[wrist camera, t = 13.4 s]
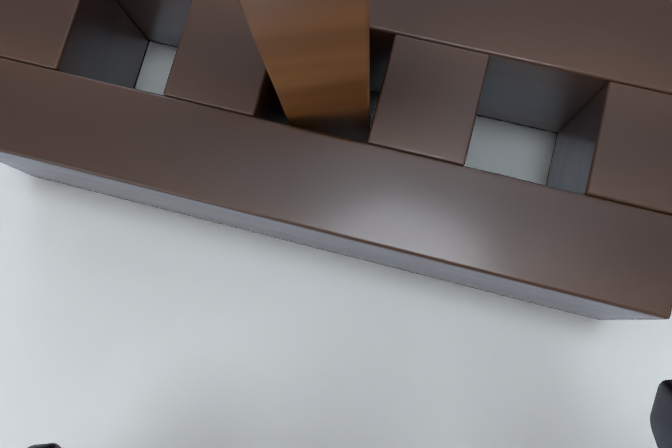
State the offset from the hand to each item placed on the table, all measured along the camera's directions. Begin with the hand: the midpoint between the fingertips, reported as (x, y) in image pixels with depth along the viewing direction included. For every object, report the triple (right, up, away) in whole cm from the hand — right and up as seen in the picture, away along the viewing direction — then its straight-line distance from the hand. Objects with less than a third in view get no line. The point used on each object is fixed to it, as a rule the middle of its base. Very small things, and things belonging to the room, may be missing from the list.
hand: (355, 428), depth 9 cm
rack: (0, +6, +11) cm, 13 cm away
